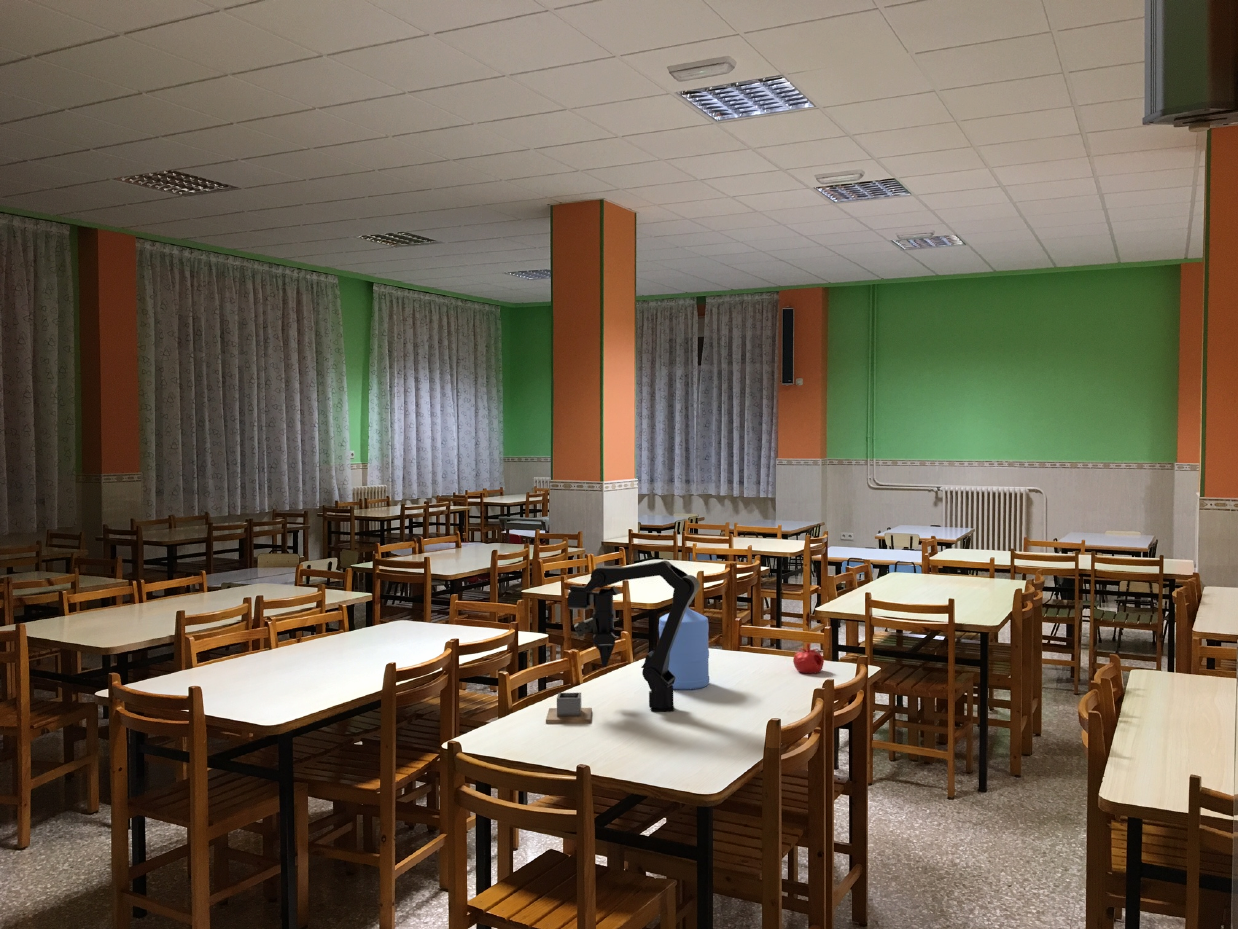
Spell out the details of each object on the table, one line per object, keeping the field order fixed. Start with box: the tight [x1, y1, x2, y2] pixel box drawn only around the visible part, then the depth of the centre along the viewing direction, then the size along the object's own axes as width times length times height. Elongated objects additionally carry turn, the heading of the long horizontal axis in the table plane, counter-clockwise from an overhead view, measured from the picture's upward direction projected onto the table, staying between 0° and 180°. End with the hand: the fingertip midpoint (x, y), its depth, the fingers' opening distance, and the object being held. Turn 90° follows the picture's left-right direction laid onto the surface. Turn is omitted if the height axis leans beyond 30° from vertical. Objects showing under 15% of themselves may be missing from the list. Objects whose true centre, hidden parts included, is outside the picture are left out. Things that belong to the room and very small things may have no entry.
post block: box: [545, 707, 593, 724], centre depth 269 cm, size 12×12×5 cm
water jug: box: [658, 606, 710, 691], centre depth 305 cm, size 16×16×28 cm
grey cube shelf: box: [556, 692, 582, 717], centre depth 269 cm, size 6×6×5 cm
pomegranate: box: [792, 643, 825, 674], centre depth 321 cm, size 10×10×9 cm
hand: (604, 663), depth 282 cm, fingers open, 9 cm apart
